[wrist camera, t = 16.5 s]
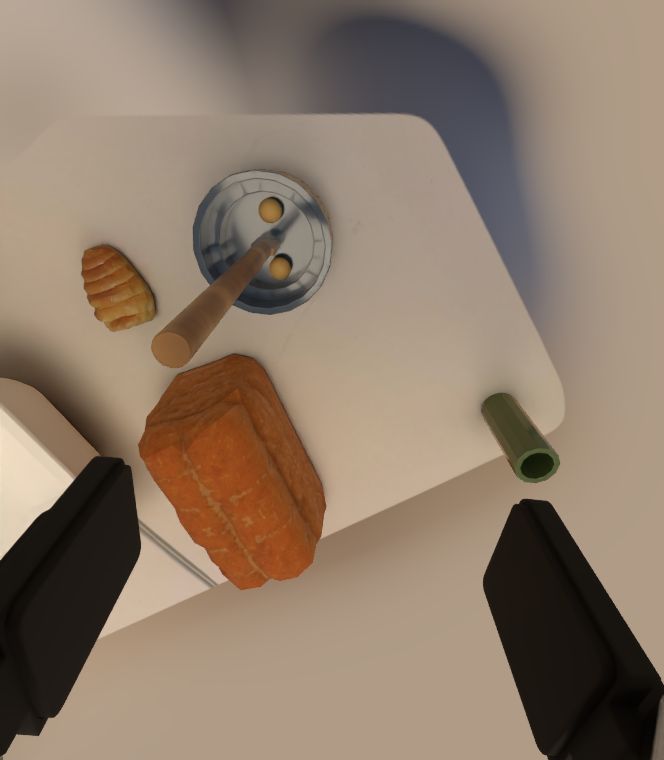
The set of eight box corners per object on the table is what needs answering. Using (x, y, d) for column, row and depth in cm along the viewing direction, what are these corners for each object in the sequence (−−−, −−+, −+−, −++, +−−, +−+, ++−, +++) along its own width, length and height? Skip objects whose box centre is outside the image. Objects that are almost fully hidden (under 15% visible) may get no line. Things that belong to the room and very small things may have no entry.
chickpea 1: (283, 198, 44) (281, 200, 41) (282, 223, 45) (279, 225, 43) (260, 195, 43) (256, 197, 41) (260, 220, 45) (256, 223, 42)
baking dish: (-139, 392, 56) (-261, 450, 44) (14, 294, 49) (-83, 332, 38) (50, 553, 69) (-7, 629, 58) (189, 492, 63) (156, 564, 51)
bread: (256, 345, 52) (227, 408, 38) (332, 499, 63) (330, 590, 50) (158, 380, 54) (99, 450, 41) (248, 523, 65) (225, 615, 52)
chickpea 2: (276, 254, 47) (293, 254, 45) (280, 276, 48) (297, 276, 46) (262, 260, 45) (279, 259, 44) (267, 282, 46) (284, 282, 45)
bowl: (339, 178, 43) (339, 180, 38) (325, 304, 49) (323, 321, 44) (208, 162, 43) (190, 161, 37) (210, 291, 49) (195, 306, 43)
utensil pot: (521, 395, 54) (566, 450, 44) (510, 424, 56) (550, 484, 46) (486, 391, 54) (523, 446, 44) (477, 421, 56) (509, 480, 46)
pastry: (73, 254, 47) (52, 261, 44) (126, 235, 46) (110, 241, 43) (116, 329, 51) (100, 341, 48) (166, 314, 50) (153, 325, 47)
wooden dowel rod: (280, 235, 45) (197, 335, 19) (279, 252, 46) (198, 371, 19) (258, 232, 45) (142, 328, 18) (257, 249, 46) (145, 365, 19)
